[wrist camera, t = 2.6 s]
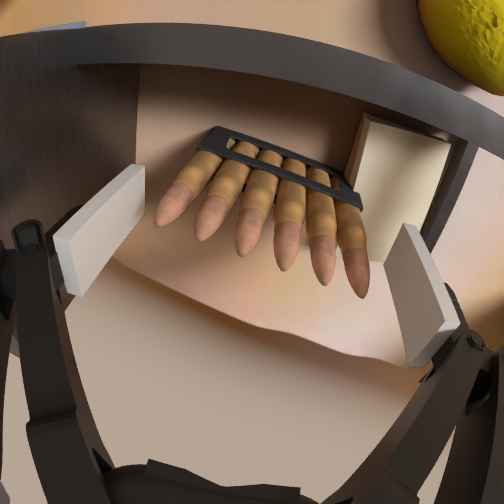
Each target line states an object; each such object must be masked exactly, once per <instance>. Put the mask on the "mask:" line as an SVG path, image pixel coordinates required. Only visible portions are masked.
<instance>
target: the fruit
mask: <svg viewBox="0 0 504 504" xmlns="http://www.w3.org/2000/svg"><path fill="white" fill-rule="evenodd" d="M416 3H417V9H418V13H419V16H420V19H421V21H422V23H423V28H424V31H425V33H426V35H427V38H428V40H429V41H430V43H431V44H432V46H433V48H434V49H435V51H436V52H437V53H438V54H439V56H440V57H441V58H442V59H443V60H444V61H445V62H446V63H447V64H448V65H449V66H450V67H452V68H453V69H454V70H455V71H456V72H457V73H459V74H460V75H461V76H462V77H464V78H465V79H466V80H468V81H469V82H471V83H473V84H474V85H475V86H477V87H479V88H481V89H483V90H485V91H487V92H489V93H491V94H494V95H498V96H504V0H416Z"/></svg>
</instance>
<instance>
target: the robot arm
mask: <svg viewBox="0 0 504 504" xmlns="http://www.w3.org/2000/svg"><path fill="white" fill-rule="evenodd" d="M144 214H145V166H142V165H136V164H131V165H130V166H128V167H127V168H126V169H125V170H124V171H122V172H121V173H120V174H119V175H118V176H116V177H115V178H114V179H113V180H112V181H111V182H109V183H108V184H107V185H106V186H105V187H104V188H103V189H101V190H100V191H99V192H98V193H97V194H96V195H95V196H94V197H93V198H91V199H90V200H89V201H88V202H87V203H86V204H85V205H78V206H76V207H74V208H72V209H70V210H69V211H68V212H67V213H66V214H65V215H64V216H63V217H62V218H61V219H60V220H59V221H58V223H57V222H56V223H55V224H54V225H53V226H52V227H51V228H50V229H49V230H48V231H47V232H46V233H45V234H44V230H43V225H42V223H41V222H40V221H39V220H35V219H31V220H26V221H23V222H21V223H19V224H17V225H16V226H15V227H14V228H13V229H12V232H11V235H12V239H13V242H14V245H15V249H5V247H4V244H3V241H2V240H1V239H0V480H1V471H2V452H3V448H2V436H3V430H2V429H3V408H4V394H5V382H6V374H7V365H8V358H9V352H10V345H11V339H12V334H13V328H14V323H15V318H16V317H17V332H18V344H19V354H20V362H21V369H22V376H23V383H24V389H25V395H26V399H27V405H28V410H29V415H30V421H29V422H27V424H26V432H27V438H28V442H29V446H30V449H31V453H32V457H33V460H34V463H35V467H36V470H37V473H38V476H39V479H40V482H41V485H42V488H43V491H44V494H45V496H46V499H47V502H48V504H319V503H317V502H316V501H314V500H312V499H310V498H308V497H306V496H304V495H301V494H300V487H288V486H287V487H286V486H278V485H269V484H258V485H247V486H232V487H231V486H230V487H224V486H220V485H218V484H215V483H213V482H211V481H209V480H206V479H204V478H202V477H200V476H198V475H196V474H194V473H192V472H190V471H188V470H186V469H183V468H179V467H175V466H172V465H168V464H165V463H161V462H158V461H154V460H151V459H148V462H147V465H143V464H137V465H126V466H121V467H118V468H115V466H114V464H113V462H112V460H111V458H110V456H109V454H108V452H107V450H106V449H105V447H104V445H103V442H102V440H101V438H100V435H99V432H98V430H97V428H96V425H95V422H94V419H93V416H92V413H91V410H90V408H89V404H88V402H87V398H86V395H85V392H84V389H83V386H82V383H81V379H80V376H79V372H78V369H77V365H76V361H75V357H74V353H73V349H72V345H71V341H70V337H69V332H68V328H67V323H66V318H65V313H64V308H63V303H62V297H61V292H60V289H59V288H60V287H61V285H62V284H63V283H65V287H66V290H67V293H70V294H73V295H76V296H79V297H83V296H84V294H85V293H86V291H87V290H88V289H89V287H90V286H91V284H92V283H93V281H94V280H95V279H96V277H97V276H98V274H99V273H100V271H101V270H102V269H103V267H104V266H105V265H106V263H107V262H108V260H109V259H110V258H111V256H112V255H113V254H114V252H115V251H116V250H117V248H118V247H119V246H120V244H121V243H122V242H123V240H124V239H125V238H126V237H127V235H128V234H129V233H130V231H131V230H132V229H133V228H134V226H135V225H136V224H137V223H138V221H139V220H140V219H141V218H142V216H143V215H144ZM383 266H384V269H385V272H386V276H387V279H388V283H389V286H390V290H391V294H392V297H393V301H394V305H395V309H396V313H397V317H398V321H399V325H400V329H401V334H402V338H403V342H404V347H405V352H406V356H407V361H408V366H410V367H421V368H424V366H425V365H426V364H427V363H428V362H429V361H430V360H431V359H432V363H433V367H432V368H431V369H430V370H429V372H428V373H427V374H426V375H425V376H424V377H423V378H422V379H421V380H420V381H419V382H420V383H421V382H422V383H421V384H420V386H419V388H418V389H417V391H416V392H415V394H414V395H413V397H412V398H411V400H410V401H409V403H408V404H407V406H406V407H405V409H404V410H403V411H402V413H401V414H400V416H399V417H398V419H397V420H396V421H395V423H394V424H393V425H392V427H391V428H390V429H389V431H388V432H387V433H386V435H385V436H384V437H383V439H382V440H381V441H380V442H379V444H378V445H377V446H376V448H375V449H374V450H373V451H372V452H371V454H370V455H369V456H368V457H367V458H366V460H365V461H364V462H363V463H362V464H361V465H360V467H359V468H358V469H357V470H356V471H355V472H354V473H353V474H352V476H351V477H350V478H349V479H348V480H347V481H346V482H345V483H344V484H343V485H342V486H341V487H340V488H339V489H338V490H337V491H336V492H335V493H333V494H332V495H331V496H329V497H328V498H327V499H326V500H324V501H323V502H322V503H321V504H419V500H420V499H419V498H418V497H417V493H418V491H419V489H420V488H421V486H422V485H423V483H424V481H425V480H426V478H427V477H428V475H429V473H430V472H431V470H432V468H433V467H434V465H435V463H436V461H437V460H438V458H439V456H440V454H441V453H442V451H443V449H444V447H445V445H446V443H447V441H448V440H449V438H450V436H451V434H452V431H453V430H454V428H455V426H456V429H455V434H454V438H453V442H452V446H451V450H450V453H449V457H448V461H447V464H446V468H445V472H444V474H443V478H442V481H441V484H440V487H439V490H438V493H437V496H436V499H435V501H434V504H504V346H502V347H501V348H500V349H499V350H498V351H497V352H496V353H495V352H493V351H491V350H489V349H487V348H486V345H485V342H484V340H483V339H482V337H481V336H480V335H479V334H478V333H477V332H475V331H473V330H470V329H469V327H468V325H467V322H466V320H465V317H464V315H463V312H462V310H461V308H460V305H459V303H458V302H457V298H456V296H455V294H454V292H453V290H452V289H451V288H450V287H449V285H448V284H447V283H444V282H443V280H442V278H441V276H440V274H439V271H438V269H437V267H436V265H435V263H434V261H433V259H432V257H431V255H430V253H429V251H428V249H427V247H426V245H425V243H424V241H423V239H422V237H421V235H420V233H419V231H418V229H417V227H416V226H414V225H411V224H407V223H404V222H403V224H402V226H401V228H400V231H399V233H398V235H397V237H396V239H395V241H394V244H393V246H392V248H391V250H390V252H389V254H388V256H387V258H386V260H385V262H384V264H383ZM0 504H10V498H9V496H8V494H7V492H6V491H5V488H4V486H3V484H2V483H1V482H0Z"/></svg>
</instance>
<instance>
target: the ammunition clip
mask: <svg viewBox="0 0 504 504" xmlns="http://www.w3.org/2000/svg"><path fill="white" fill-rule="evenodd" d="M196 151H197V153H196V154H195V155H194V156H193V157H192V158H191V159H190V160H189V161H188V162H187V163H186V164H185V165H184V166H183V167H182V168H181V170H180V171H179V172H178V174H177V176H176V179H175V181H174V182H173V183H172V185H171V186H170V188H169V189H168V191H167V192H166V193H165V194H164V196H163V198H162V199H161V201H160V203H159V206H158V208H157V211H156V214H155V226H156V227H163V226H165V225H168V224H169V223H171V222H172V221H174V220H175V219H176V218H177V217H178V216H180V215H181V214H182V213H183V212H184V210H185V209H186V208H187V207H188V205H189V204H190V203H191V202H192V201H193V200H194V199H195V197H196V196H198V195H199V194H200V193H202V192H203V191H204V190H205V188H206V187H207V185H208V184H209V182H210V181H211V183H210V185H209V187H208V192H207V195H206V197H205V199H204V201H203V204H202V206H201V208H200V210H199V212H198V215H197V218H196V222H195V238H196V240H197V241H198V242H202V241H204V240H206V239H208V238H209V237H210V236H211V235H212V234H213V233H215V231H216V230H217V229H218V228H219V226H220V225H221V224H222V222H223V220H224V219H225V217H226V215H227V213H228V212H229V210H230V208H231V207H232V206H233V205H234V204H235V203H236V201H237V200H238V198H239V196H240V194H241V192H243V195H242V198H241V209H240V213H239V218H238V221H237V225H236V231H235V247H236V250H237V253H238V255H239V256H240V257H244V256H245V255H247V254H248V253H249V252H251V250H252V249H253V248H254V246H255V245H256V243H257V242H258V240H259V238H260V236H261V233H262V230H263V227H264V224H265V222H266V219H267V216H268V214H269V213H270V211H271V210H272V207H273V203H274V204H275V207H274V213H273V217H274V222H275V227H274V254H275V258H276V262H277V265H278V267H279V268H280V270H281V271H283V272H285V271H287V270H288V269H289V268H290V267H291V265H292V264H293V262H294V260H295V258H296V255H297V252H298V248H299V244H300V235H301V230H302V225H303V223H304V219H305V215H306V231H307V235H308V237H309V244H310V254H311V261H312V266H313V269H314V272H315V275H316V277H317V279H318V280H319V282H320V283H321V284H322V285H323V286H326V285H327V284H328V283H329V282H330V280H331V278H332V275H333V272H334V269H335V263H336V249H335V246H336V240H335V236H336V239H337V244H338V246H339V248H340V250H341V253H342V258H343V261H344V265H345V271H346V274H347V277H348V280H349V282H350V285H351V287H352V288H353V290H354V292H355V293H356V295H357V296H358V297H359V298H361V299H363V298H365V296H366V294H367V292H368V288H369V281H370V269H369V261H368V253H367V248H366V244H367V237H366V232H365V229H364V225H363V221H362V218H361V214H360V212H362V211H363V209H364V208H363V204H362V200H361V197H360V193H358V192H355V191H353V189H352V187H351V185H350V183H348V182H347V181H346V179H345V177H344V172H341V171H339V170H337V169H334V168H332V167H330V166H327V165H325V164H322V163H320V162H317V161H315V160H312V159H310V158H307V157H305V156H302V155H300V154H297V153H295V152H292V151H289V150H287V149H284V148H281V147H279V146H276V145H273V144H270V143H268V142H265V141H262V140H259V139H256V138H253V137H250V136H247V135H245V134H242V133H239V132H236V131H232V130H229V129H226V128H223V127H220V126H215V127H214V128H213V129H212V130H211V131H210V133H209V134H208V135H207V136H206V137H205V138H204V140H203V141H202V142H201V143H200V144H199V145H198V147H197V150H196ZM223 162H224V163H223ZM221 165H222V166H221ZM251 169H253V170H252V172H251V175H250V177H249V180H248V182H247V184H246V180H247V178H248V176H249V174H250V171H251ZM278 179H279V184H278V190H277V195H276V194H275V192H276V188H277V183H278ZM359 209H360V211H359Z"/></svg>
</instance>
